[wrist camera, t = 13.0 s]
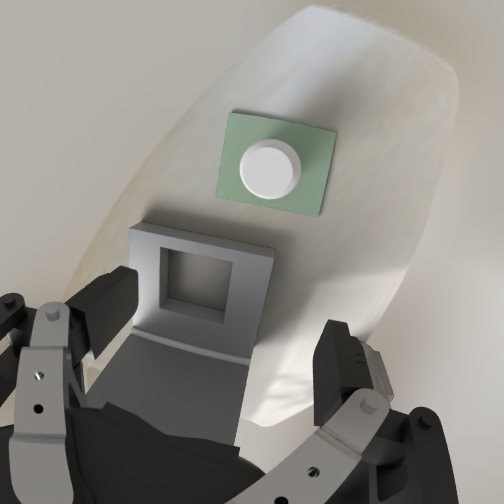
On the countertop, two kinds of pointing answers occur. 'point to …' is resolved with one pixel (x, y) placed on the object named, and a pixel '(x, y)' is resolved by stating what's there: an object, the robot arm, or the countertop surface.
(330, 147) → the mat
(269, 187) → the supplement bottle
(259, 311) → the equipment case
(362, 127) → the countertop surface
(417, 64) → the countertop surface
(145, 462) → the robot arm
